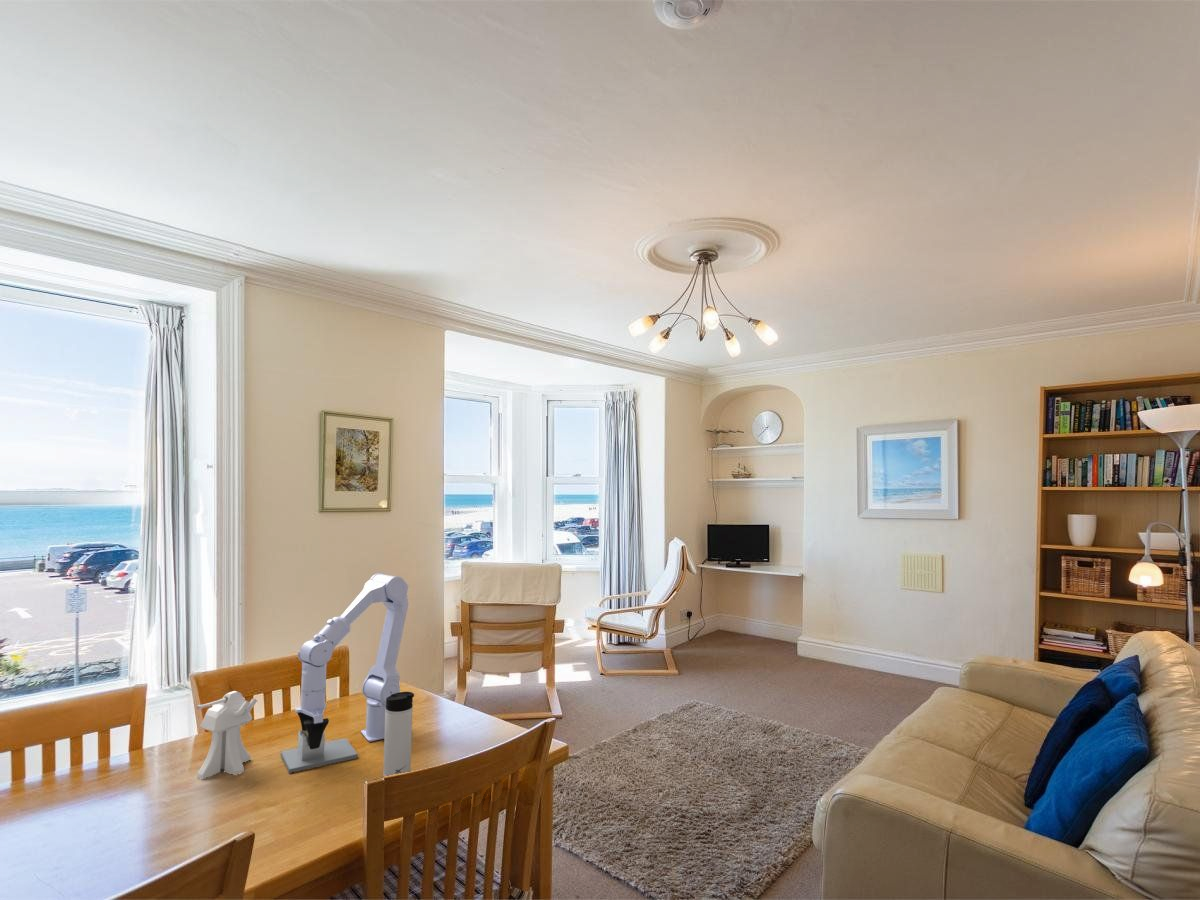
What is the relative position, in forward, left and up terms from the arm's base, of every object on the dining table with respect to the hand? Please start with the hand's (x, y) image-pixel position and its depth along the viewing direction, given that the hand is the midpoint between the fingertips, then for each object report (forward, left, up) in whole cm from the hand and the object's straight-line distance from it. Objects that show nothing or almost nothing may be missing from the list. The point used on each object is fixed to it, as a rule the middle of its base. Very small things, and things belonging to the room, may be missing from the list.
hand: (311, 742), depth 163 cm
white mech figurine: (+19, -5, -4) cm, 20 cm away
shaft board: (-2, 0, -4) cm, 4 cm away
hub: (0, 0, -3) cm, 3 cm away
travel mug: (-15, +22, -4) cm, 27 cm away
